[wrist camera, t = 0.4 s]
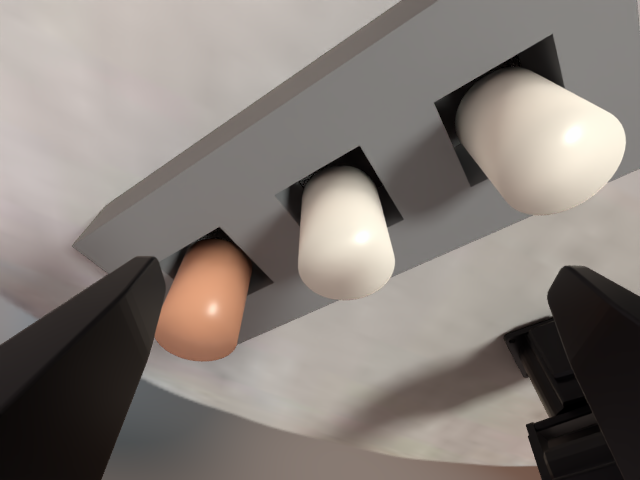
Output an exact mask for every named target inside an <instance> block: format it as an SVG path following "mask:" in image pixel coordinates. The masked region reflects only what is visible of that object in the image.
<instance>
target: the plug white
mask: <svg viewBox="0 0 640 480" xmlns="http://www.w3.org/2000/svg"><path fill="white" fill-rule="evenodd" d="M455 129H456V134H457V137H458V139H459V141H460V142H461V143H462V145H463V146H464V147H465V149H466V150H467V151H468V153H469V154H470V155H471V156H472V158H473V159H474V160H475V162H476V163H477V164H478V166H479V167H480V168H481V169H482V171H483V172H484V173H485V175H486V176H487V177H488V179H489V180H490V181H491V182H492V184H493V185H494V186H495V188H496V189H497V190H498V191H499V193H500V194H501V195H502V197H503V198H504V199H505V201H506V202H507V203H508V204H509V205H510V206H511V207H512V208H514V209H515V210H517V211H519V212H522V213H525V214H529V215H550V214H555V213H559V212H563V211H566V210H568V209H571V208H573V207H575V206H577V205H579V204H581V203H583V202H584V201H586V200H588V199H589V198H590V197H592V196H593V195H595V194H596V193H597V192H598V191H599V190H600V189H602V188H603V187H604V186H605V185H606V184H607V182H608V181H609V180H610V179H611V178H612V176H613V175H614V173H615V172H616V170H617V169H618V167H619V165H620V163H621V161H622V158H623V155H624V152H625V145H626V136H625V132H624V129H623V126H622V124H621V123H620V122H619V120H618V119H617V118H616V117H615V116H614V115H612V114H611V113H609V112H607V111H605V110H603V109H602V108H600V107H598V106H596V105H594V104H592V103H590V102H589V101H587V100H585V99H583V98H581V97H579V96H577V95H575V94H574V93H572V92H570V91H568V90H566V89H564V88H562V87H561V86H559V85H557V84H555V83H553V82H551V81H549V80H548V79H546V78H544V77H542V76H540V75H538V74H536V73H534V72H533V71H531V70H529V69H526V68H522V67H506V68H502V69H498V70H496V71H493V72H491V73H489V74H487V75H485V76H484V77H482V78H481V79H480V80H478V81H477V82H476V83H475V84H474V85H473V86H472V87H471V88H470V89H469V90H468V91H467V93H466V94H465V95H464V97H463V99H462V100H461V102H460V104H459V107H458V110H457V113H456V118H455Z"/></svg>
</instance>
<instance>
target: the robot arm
mask: <svg viewBox="0 0 640 480" xmlns="http://www.w3.org/2000/svg"><path fill="white" fill-rule="evenodd" d="M165 293H166V284H165V280H164V277H163V273H162V270H161V267H160V263H159V261H158V259H157V258H156V257H154V256H136V257H134V258H132V259H131V260H129V261H128V262H126V263H125V264H123V265H122V266H120V267H119V268H117V269H115V270H114V271H112V272H111V273H109V274H108V275H106V276H105V277H103V278H102V279H100V280H99V281H97V282H96V283H94V284H93V285H91V286H90V287H88V288H86V289H85V290H83V291H82V292H80V293H79V294H77V295H76V296H74V297H73V298H71V299H70V300H68V301H67V302H65V303H64V304H62V305H61V306H59V307H57V308H56V309H54V310H53V311H51V312H50V313H48V314H47V315H45V316H44V317H42V318H41V319H39V320H38V321H36V322H35V323H33V324H32V325H30V326H29V327H27V328H25V329H24V330H22V331H21V332H19V333H18V334H16V335H15V336H13V337H12V338H10V339H9V340H7V341H6V342H4V343H3V344H1V345H0V480H101V479H102V477H103V474H104V471H105V469H106V466H107V463H108V461H109V459H110V456H111V453H112V450H113V448H114V446H115V443H116V440H117V437H118V435H119V433H120V430H121V427H122V425H123V422H124V420H125V417H126V414H127V412H128V409H129V407H130V404H131V402H132V399H133V397H134V394H135V391H136V389H137V386H138V384H139V381H140V379H141V376H142V373H143V371H144V368H145V366H146V363H147V360H148V357H149V354H150V351H151V347H152V344H153V340H154V336H155V332H156V328H157V324H158V320H159V317H160V313H161V309H162V305H163V301H164V297H165ZM547 299H548V304H549V307H550V310H551V312H552V315H553V319H550V320H547V321H544V322H541V323H538V324H535V325H532V326H529V327H527V328H524V329H521V330H518V331H515V332H512V333H509V334H507V335H505V336H504V340H505V342H506V344H507V346H508V348H509V350H510V352H511V354H512V356H513V358H514V360H515V362H516V363H517V365H518V367H519V369H520V371H521V373H522V375H523V376H524V377H526V378H528V377H529V378H530V380H531V382H532V384H533V386H534V388H535V390H536V392H537V394H538V396H539V398H540V400H541V402H542V404H543V406H544V408H545V410H546V412H547V414H548V416H549V418H547V419H545V420H542V421H539V422H536V423H533V422H532V423H529V424H526V427H527V430H528V433H529V436H528V438H529V441H530V445H531V448H532V451H533V454H534V457H535V460H536V463H537V466H538V469H539V472H540V475H541V479H542V480H640V296H638V295H636V294H634V293H632V292H631V291H629V290H627V289H625V288H623V287H622V286H620V285H618V284H616V283H614V282H613V281H611V280H609V279H607V278H605V277H604V276H602V275H600V274H598V273H596V272H595V271H593V270H591V269H589V268H587V267H585V266H564V267H563V268H561V270H560V271H559V273H558V275H557V276H556V278H555V280H554V282H553V284H552V285H551V287H550V289H549V291H548V295H547Z"/></svg>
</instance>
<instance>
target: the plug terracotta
mask: <svg viewBox="0 0 640 480" xmlns="http://www.w3.org/2000/svg"><path fill="white" fill-rule="evenodd" d="M251 274H252V263H251V260H250V258H249V256H248V255H247V254H246V253H245V252H244V251H243V250H242V249H241V248H240V247H239V246H237V245H236V244H234V243H232V242H229V241H226V240H222V239H205V240H201V241H198V242H196V243H194V244H193V245H191V246H190V247H189V249H188V250H187V252H186V254H185V256H184V258H183V260H182V263H181V265H180V267H179V269H178V272H177V274H176V276H175V279H174V281H173V283H172V285H171V288H170V290H169V292H168V294H167V297H166V299H165V301H164V303H163V306H162V309H161V313H160V317H159V320H158V324H157V328H156V332H155V339H156V340H157V342H158V343H159V344H160V345H161V346H162V347H163V348H164V349H165V350H167V351H168V352H170V353H172V354H173V355H176V356H178V357H181V358H184V359H188V360H193V361H213V360H218V359H221V358H224V357H226V356H228V355H229V354H230V353H232V352H233V350H234V349H235V348H236V346H237V342H238V337H239V332H240V327H241V322H242V317H243V312H244V308H245V303H246V298H247V293H248V288H249V283H250V278H251Z"/></svg>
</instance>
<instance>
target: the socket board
mask: <svg viewBox="0 0 640 480" xmlns="http://www.w3.org/2000/svg"><path fill="white" fill-rule="evenodd" d="M517 54H518V56H519V60H520V63H521V67H522V68H526V69H529V70H531V71H533V72H534V73H536V74H538V75H540V76H542V77H544V78H546V79H548V80H549V81H551V82H553V83H555V84H557V85H559V86H561V87H562V88H564V89H566V90H568V91H570V92H572V93H574V94H575V95H577V96H579V97H581V98H583V99H585V100H587V101H589V102H590V103H592V104H594V105H596V106H598V107H600V108H602V109H603V110H605V111H607V112H609V113H611V114H612V115H614V116H615V117H616V118H617V119H618V120H619V122H620V123H621V124H622V126H623V129H624V132H625V136H626V145H625V152H624V155H623V158H622V161H621V163H620V165H619V167H618V169H617V170H616V172H615V173H614V175H613V176H612V178H611V179H610V180H609V181H608V182H610V181H613V180H615V179H617V178H620V177H622V176H624V175H626V174H629V173H631V172H633V171H636V170H638V169H640V26H639V16H638V5H637V0H402V1H400V2H399V3H397V4H396V5H394V6H393V7H391V8H390V9H389V10H387V11H386V12H384V13H383V14H381V15H380V16H378V17H377V18H376V19H374V20H373V21H371V22H370V23H368V24H367V25H365V26H364V27H363V28H361V29H360V30H358V31H357V32H355V33H354V34H353V35H351V36H350V37H348V38H347V39H345V40H344V41H342V42H341V43H340V44H338V45H337V46H335V47H334V48H332V49H331V50H329V51H328V52H327V53H325V54H324V55H322V56H321V57H319V58H318V59H316V60H315V61H314V62H312V63H311V64H309V65H308V66H306V67H305V68H303V69H302V70H301V71H299V72H298V73H296V74H295V75H293V76H292V77H290V78H289V79H288V80H286V81H285V82H283V83H282V84H280V85H279V86H277V87H276V88H275V89H273V90H272V91H270V92H269V93H267V94H266V95H264V96H263V97H262V98H260V99H259V100H257V101H256V102H254V103H253V104H251V105H250V106H249V107H247V108H246V109H244V110H243V111H241V112H240V113H239V114H237V115H236V116H234V117H233V118H231V119H230V120H228V121H227V122H226V123H224V124H223V125H221V126H220V127H218V128H217V129H215V130H214V131H213V132H211V133H210V134H208V135H207V136H205V137H204V138H202V139H201V140H200V141H198V142H197V143H195V144H194V145H192V146H191V147H189V148H188V149H187V150H185V151H184V152H182V153H181V154H179V155H178V156H176V157H175V158H174V159H172V160H171V161H169V162H168V163H166V164H165V165H163V166H162V167H161V168H159V169H158V170H156V171H155V172H153V173H152V174H150V175H149V176H148V177H146V178H145V179H143V180H142V181H140V182H139V183H138V184H136V185H135V186H133V187H132V188H130V189H129V190H127V191H126V192H125V193H123V194H122V195H120V196H119V197H117V198H116V199H114V200H113V201H112V202H110V203H109V204H107V205H106V206H105V207H104V208H103V210H102V211H101V212H100V213H99V214H98V216H97V217H96V218H95V219H94V220H93V221H92V223H91V224H90V225H89V226H88V227H87V229H86V230H85V231H84V232H83V233H82V234H81V236H80V237H79V238H78V239H77V240H76V242H75V243H74V244H73V245H72V247H73V248H75V249H76V250H77V251H79V252H80V253H81V254H83V255H84V256H85V257H87V258H88V259H89V260H91V261H92V262H93V263H95V264H96V265H97V266H99V267H100V268H101V269H103V270H104V271H105V272H107V273H108V274H109V273H111V272H112V271H114V270H115V269H117V268H119V267H120V266H122V265H123V264H125V263H126V262H128V261H129V260H131V259H132V258H134V257H136V256H154V257H156V258H157V259H158V261H159V263H160V267H161V270H162V273H163V277H164V280H165V284H166V293H165V297H164V301H165V299H166V297H167V294H168V292H169V290H170V288H171V285H172V283H173V281H174V279H175V276H176V274H177V272H178V269H179V267H180V265H181V263H182V260H183V258H184V256H185V254H186V252H187V250H188V249H189V247H190V246H191V245H193V244H194V243H196V242H198V241H197V240H198V239H199V238H201V237H203V236H204V235H206V234H208V233H210V232H211V231H213V230H215V229H216V228H218V227H220V228H221V229H222V230H223V231H224V232H225V233H226V234H227V235H228V236H229V237H230V238H231V239H232V240H233V241H234V242H235V243H236V244H237V245H238V246H239V247H240V248H241V249H242V250H243V251H244V252H245V253H246V254H247V255H248V256H249V258H250V260H251V263H252V274H251V278H250V283H249V288H248V293H247V298H246V303H245V308H244V312H243V317H242V322H241V327H240V332H239V337H238V342H237V345H238V344H240V343H242V342H244V341H247V340H249V339H251V338H254V337H256V336H258V335H260V334H263V333H265V332H267V331H270V330H272V329H274V328H276V327H279V326H281V325H283V324H286V323H288V322H290V321H292V320H295V319H297V318H299V317H302V316H304V315H306V314H308V313H311V312H313V311H315V310H318V309H320V308H322V307H324V306H327V305H329V304H331V303H334V302H336V301H338V300H334V299H329V298H326V297H323V296H321V295H318V294H317V293H315V292H313V291H312V290H311V289H309V288H308V287H307V286H306V285H305V283H304V282H303V281H302V279H301V277H300V274H299V271H298V255H299V238H300V222H301V206H302V194H303V190H304V189H303V187H302V186H301V185H300V183H299V182H298V181H299V180H301V179H303V178H304V177H306V176H308V175H310V174H311V173H313V172H315V171H317V170H318V169H320V168H322V167H323V166H325V165H327V164H329V163H330V162H332V161H334V160H336V159H337V158H339V157H341V156H342V155H344V154H346V153H348V152H349V151H351V150H353V149H355V148H356V147H358V146H360V147H361V149H362V150H363V152H364V154H365V155H366V157H367V159H368V160H369V162H370V164H371V165H372V167H373V169H374V170H375V172H376V174H377V175H378V177H379V179H380V180H381V182H382V184H383V186H381V187H379V188H377V191H378V195H379V198H380V202H381V206H382V210H383V214H384V218H385V222H386V226H387V229H388V233H389V237H390V241H391V245H392V249H393V253H394V257H395V266H394V271H393V273H392V275H391V277H393V276H395V275H398V274H400V273H402V272H405V271H407V270H409V269H411V268H414V267H416V266H418V265H421V264H423V263H425V262H427V261H430V260H432V259H434V258H437V257H439V256H441V255H443V254H446V253H448V252H450V251H453V250H455V249H457V248H459V247H462V246H464V245H466V244H469V243H471V242H473V241H475V240H478V239H480V238H482V237H485V236H487V235H489V234H491V233H494V232H496V231H498V230H501V229H503V228H505V227H508V226H510V225H512V224H514V223H517V222H519V221H521V220H524V219H526V218H528V217H530V216H533V215H529V214H525V213H522V212H519V211H517V210H515V209H514V208H512V207H511V206H510V205H509V204H508V203H507V202H506V201H505V199H504V198H503V197H502V195H501V194H500V193H499V191H498V190H497V189H496V188H495V186H494V185H493V184H492V182H491V181H490V180H489V179H488V177H487V176H486V175H485V173H484V172H483V171H482V169H481V168H480V167H479V166H478V164H477V163H476V162H475V160H474V159H473V158H472V156H471V155H470V154H469V153H468V151H467V150H466V149H465V147H464V146H463V145H462V144H460V145H458V146H456V147H455V148H453V145H452V143H451V141H450V139H449V136H448V134H447V132H446V129H445V127H444V125H443V123H442V120H441V118H440V116H439V113H438V111H437V109H436V107H435V104H434V102H436V101H437V100H439V99H441V98H443V97H444V96H446V95H448V94H449V93H451V92H453V91H455V90H456V89H458V88H460V87H462V86H463V85H465V84H467V83H468V82H470V81H472V80H474V79H475V78H477V77H479V76H480V75H482V74H484V73H486V72H487V71H489V70H491V69H493V68H494V67H496V66H498V65H499V64H501V63H503V62H505V61H506V60H508V59H510V58H512V57H513V56H515V55H517ZM608 182H607V183H608ZM391 277H390V278H391ZM164 301H163V303H164ZM162 306H163V305H162Z"/></svg>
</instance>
